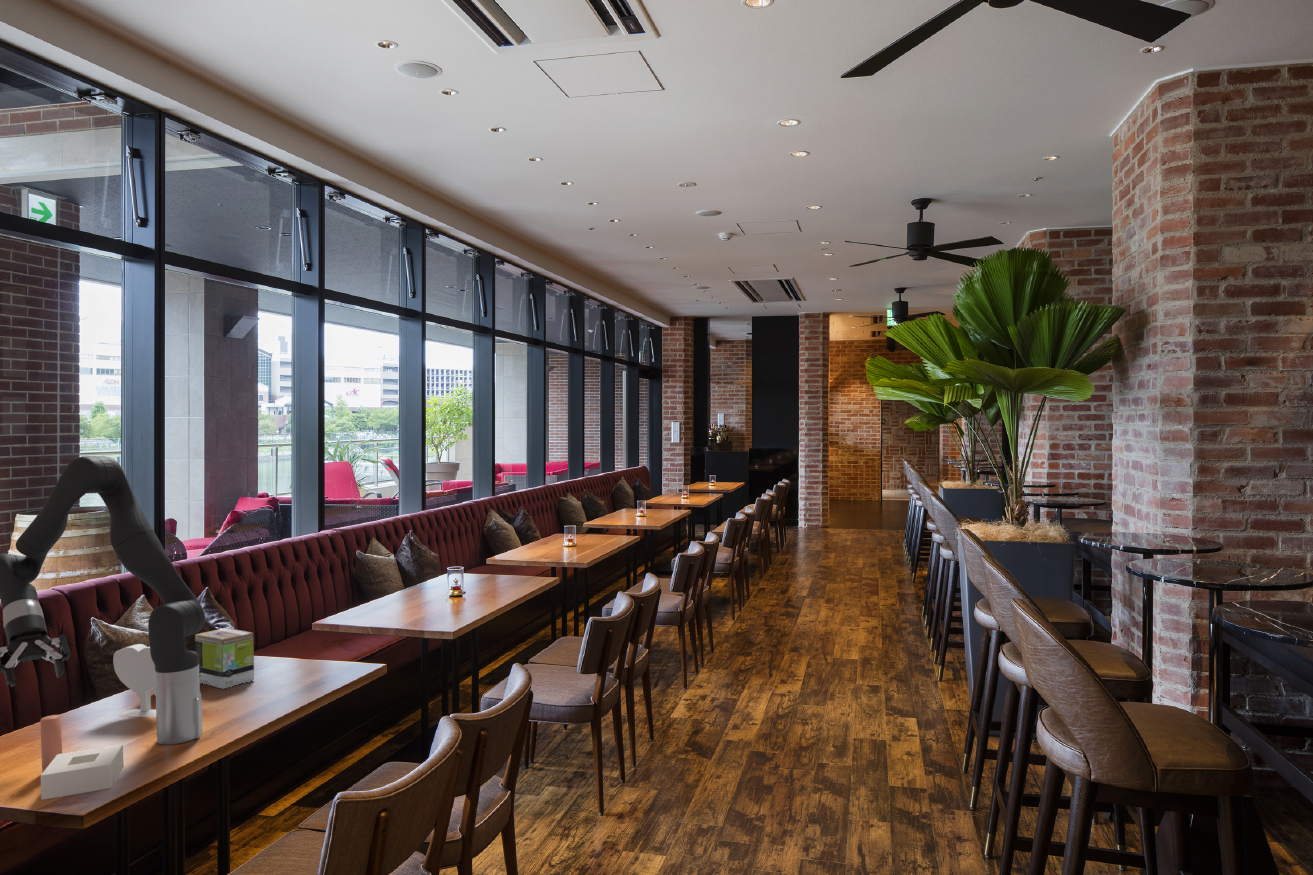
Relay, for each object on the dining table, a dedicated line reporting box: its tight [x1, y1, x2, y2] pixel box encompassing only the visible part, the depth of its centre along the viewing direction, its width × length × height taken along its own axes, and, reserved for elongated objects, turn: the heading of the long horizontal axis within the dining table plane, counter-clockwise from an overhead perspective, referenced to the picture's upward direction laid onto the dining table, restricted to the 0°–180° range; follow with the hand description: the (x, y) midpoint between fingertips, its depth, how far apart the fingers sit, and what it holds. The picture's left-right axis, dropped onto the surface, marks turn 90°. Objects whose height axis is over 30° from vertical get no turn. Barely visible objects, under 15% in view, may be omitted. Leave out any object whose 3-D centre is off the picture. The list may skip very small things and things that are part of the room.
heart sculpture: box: [112, 643, 156, 718], centre depth 213 cm, size 16×5×18 cm, turn 81°
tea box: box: [194, 627, 255, 690], centre depth 239 cm, size 15×10×15 cm, turn 58°
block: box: [40, 743, 124, 801], centre depth 170 cm, size 12×12×5 cm
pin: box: [39, 714, 63, 774], centre depth 176 cm, size 4×4×12 cm
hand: (36, 680), depth 184 cm, fingers open, 8 cm apart
